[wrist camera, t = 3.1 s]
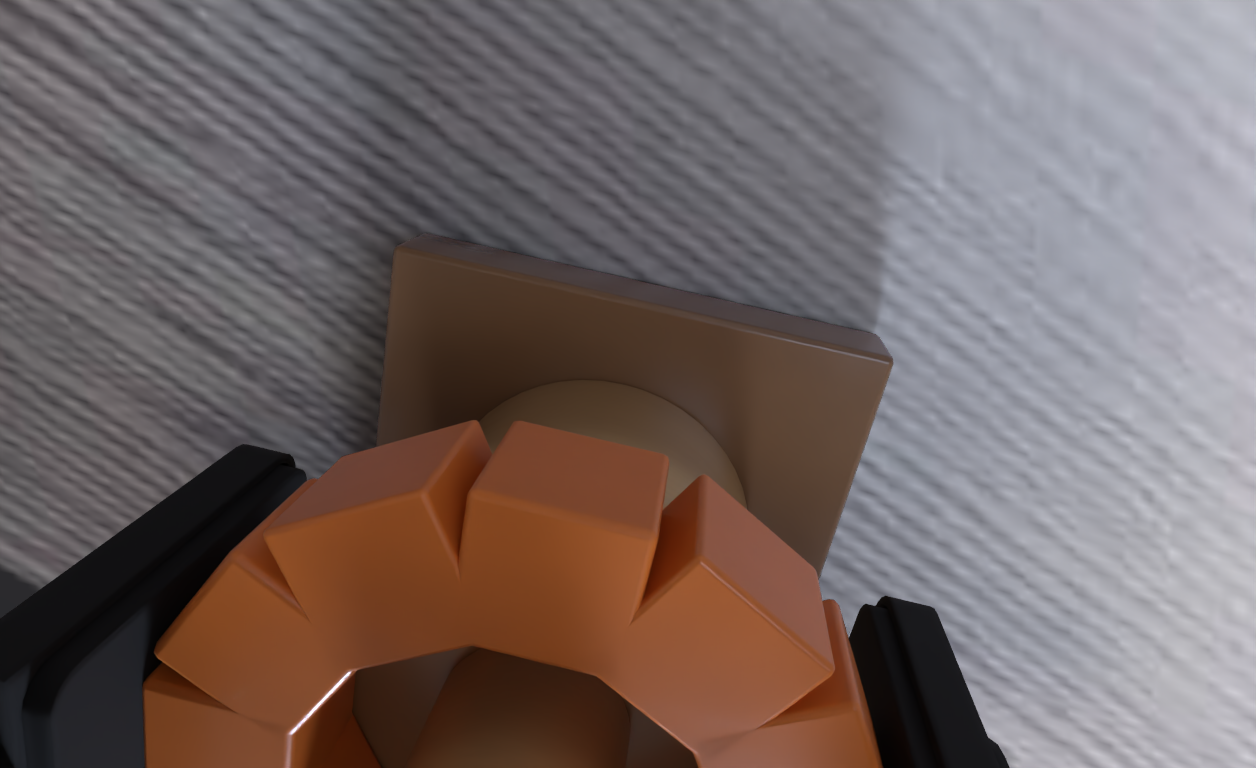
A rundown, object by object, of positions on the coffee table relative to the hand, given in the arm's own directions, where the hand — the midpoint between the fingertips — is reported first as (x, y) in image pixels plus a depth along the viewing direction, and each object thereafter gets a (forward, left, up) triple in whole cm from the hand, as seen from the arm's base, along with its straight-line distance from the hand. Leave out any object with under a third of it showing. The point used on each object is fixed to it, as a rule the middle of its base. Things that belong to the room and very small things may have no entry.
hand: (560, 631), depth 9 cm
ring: (0, 0, +1) cm, 1 cm away
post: (0, 0, -4) cm, 4 cm away
